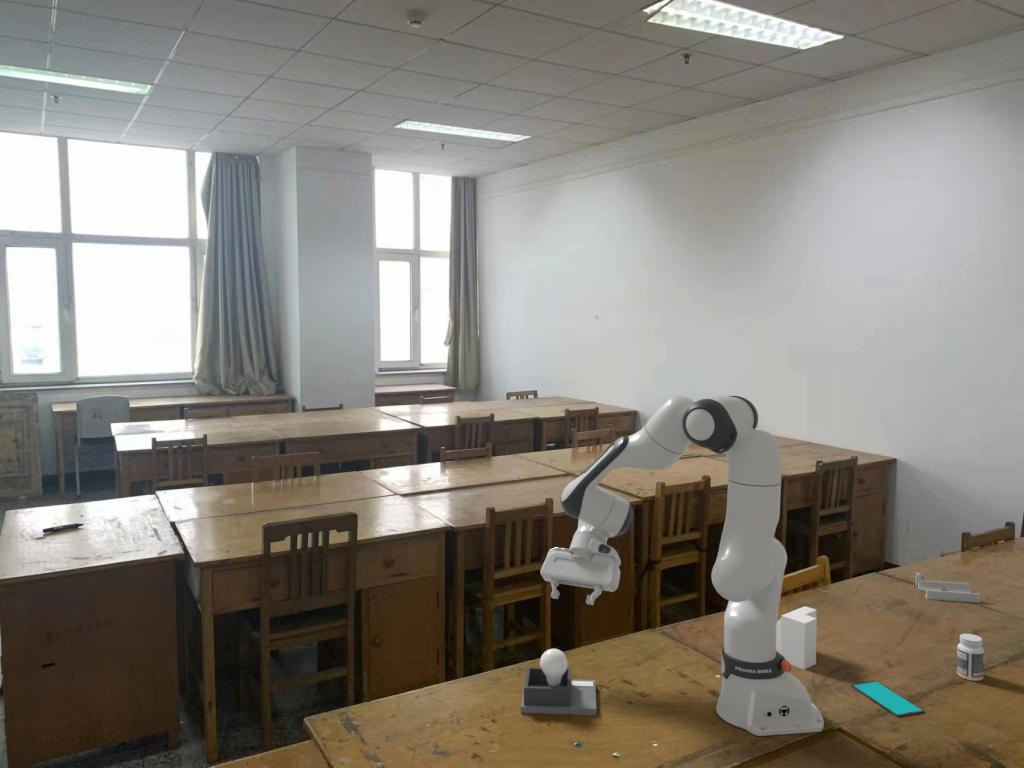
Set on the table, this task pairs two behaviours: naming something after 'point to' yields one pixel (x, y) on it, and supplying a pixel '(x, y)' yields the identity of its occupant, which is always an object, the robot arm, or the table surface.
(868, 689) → the smartphone
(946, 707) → the table surface
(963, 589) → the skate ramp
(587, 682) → the socket board
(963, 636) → the pill bottle
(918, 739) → the table surface
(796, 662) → the white notched block
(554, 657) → the lightbulb
